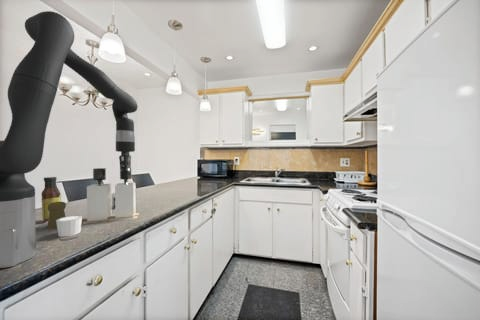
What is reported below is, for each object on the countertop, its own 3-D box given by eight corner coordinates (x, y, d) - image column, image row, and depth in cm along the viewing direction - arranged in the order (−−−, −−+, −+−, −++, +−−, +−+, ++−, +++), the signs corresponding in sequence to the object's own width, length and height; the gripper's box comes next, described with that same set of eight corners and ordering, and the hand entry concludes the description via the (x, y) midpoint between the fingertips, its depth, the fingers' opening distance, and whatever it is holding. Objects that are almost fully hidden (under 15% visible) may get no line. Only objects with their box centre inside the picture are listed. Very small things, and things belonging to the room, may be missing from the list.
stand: (136, 221, 84) (136, 218, 84) (81, 227, 76) (81, 224, 76) (139, 215, 93) (139, 212, 93) (90, 220, 86) (90, 216, 86)
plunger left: (105, 215, 81) (104, 168, 81) (90, 217, 80) (90, 169, 79) (108, 212, 86) (107, 168, 86) (95, 213, 84) (94, 168, 84)
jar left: (107, 220, 81) (106, 185, 81) (87, 222, 78) (86, 186, 78) (111, 215, 87) (111, 183, 87) (93, 217, 85) (92, 184, 85)
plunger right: (131, 213, 85) (130, 168, 85) (118, 214, 83) (118, 168, 83) (133, 210, 90) (132, 167, 90) (120, 211, 88) (120, 167, 88)
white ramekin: (63, 243, 63) (63, 222, 63) (51, 239, 65) (51, 219, 65) (86, 235, 69) (86, 216, 69) (75, 232, 71) (74, 214, 71)
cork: (66, 225, 78) (65, 199, 78) (68, 229, 75) (68, 201, 75) (45, 230, 74) (45, 202, 74) (47, 234, 70) (46, 204, 70)
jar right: (133, 217, 85) (133, 184, 84) (115, 219, 82) (115, 185, 82) (135, 213, 91) (135, 182, 91) (118, 214, 88) (118, 183, 88)
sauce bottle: (65, 218, 88) (65, 176, 88) (50, 223, 82) (50, 177, 81) (53, 218, 89) (52, 176, 88) (37, 222, 82) (36, 177, 82)
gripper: (132, 140, 81) (132, 179, 81) (136, 142, 94) (137, 176, 94) (111, 139, 78) (112, 180, 78) (119, 142, 91) (119, 177, 92)
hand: (125, 178), depth 86 cm, fingers closed on plunger right, 4 cm apart
